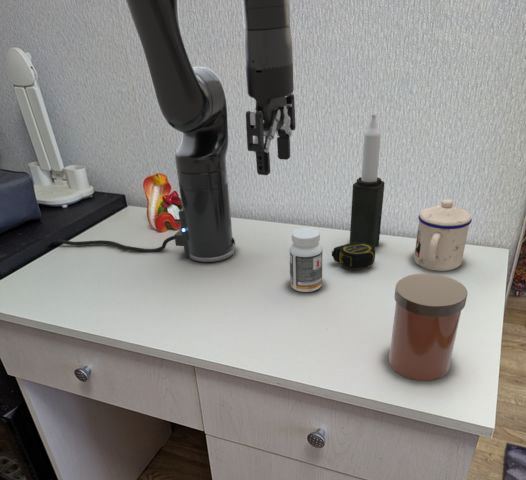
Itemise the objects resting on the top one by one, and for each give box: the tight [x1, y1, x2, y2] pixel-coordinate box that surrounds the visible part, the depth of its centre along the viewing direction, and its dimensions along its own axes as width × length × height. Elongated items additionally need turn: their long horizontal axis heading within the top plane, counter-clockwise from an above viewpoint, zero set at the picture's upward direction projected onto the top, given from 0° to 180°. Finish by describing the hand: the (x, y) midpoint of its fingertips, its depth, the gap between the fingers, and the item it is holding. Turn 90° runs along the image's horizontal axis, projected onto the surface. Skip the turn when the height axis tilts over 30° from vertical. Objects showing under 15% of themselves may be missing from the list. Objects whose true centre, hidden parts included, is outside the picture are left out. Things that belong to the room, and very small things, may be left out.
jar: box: [388, 273, 468, 382], centre depth 65 cm, size 9×9×12 cm
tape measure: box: [331, 242, 376, 270], centre depth 93 cm, size 7×7×4 cm
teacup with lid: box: [413, 198, 473, 272], centre depth 89 cm, size 12×9×12 cm
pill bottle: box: [288, 227, 323, 293], centre depth 85 cm, size 6×6×10 cm
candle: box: [349, 112, 386, 249], centre depth 93 cm, size 5×5×25 cm
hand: (274, 166), depth 87 cm, fingers open, 8 cm apart
